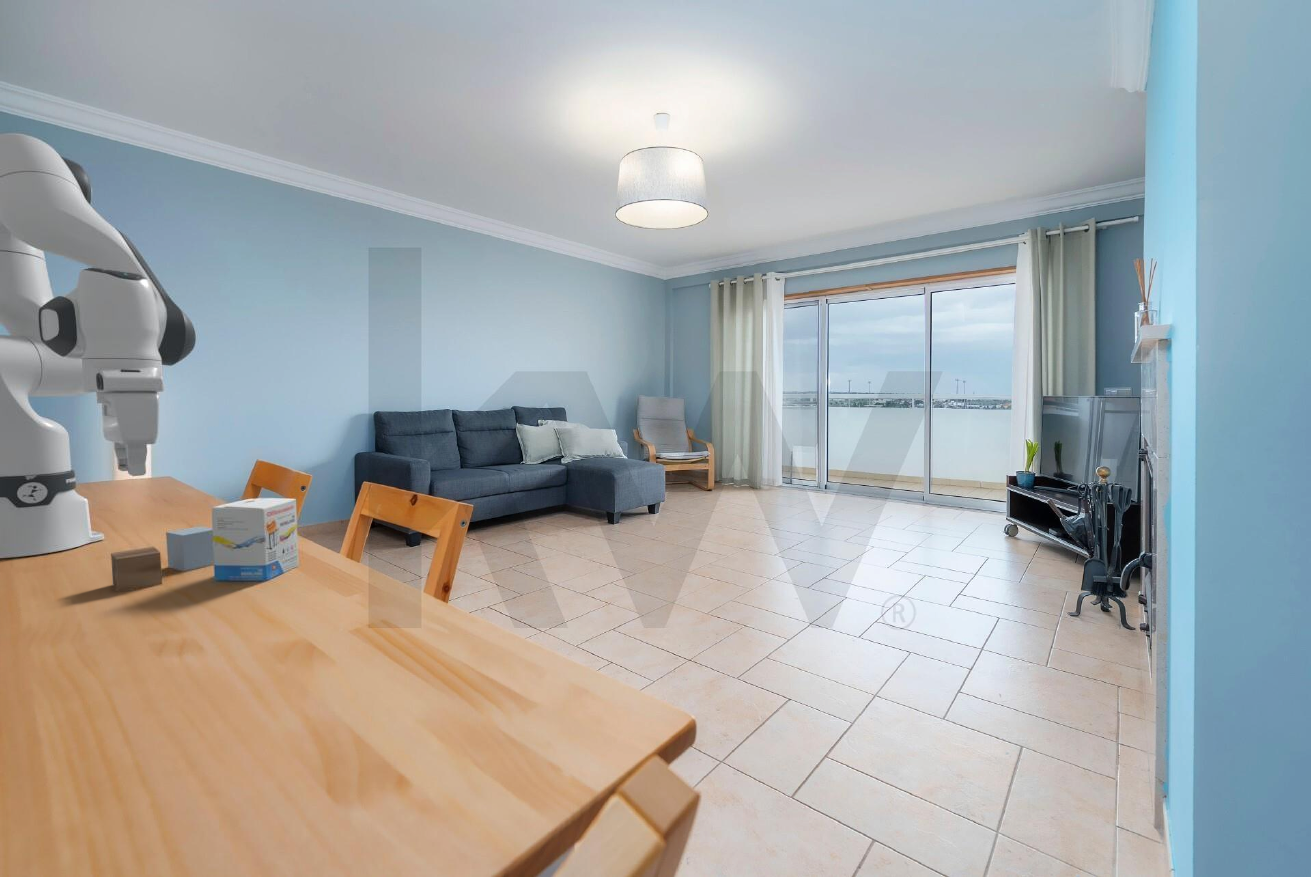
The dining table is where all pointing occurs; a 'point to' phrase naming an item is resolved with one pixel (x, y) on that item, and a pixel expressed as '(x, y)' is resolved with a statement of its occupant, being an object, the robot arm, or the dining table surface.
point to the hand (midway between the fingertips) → (131, 473)
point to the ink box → (254, 539)
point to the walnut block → (136, 568)
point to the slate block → (190, 548)
